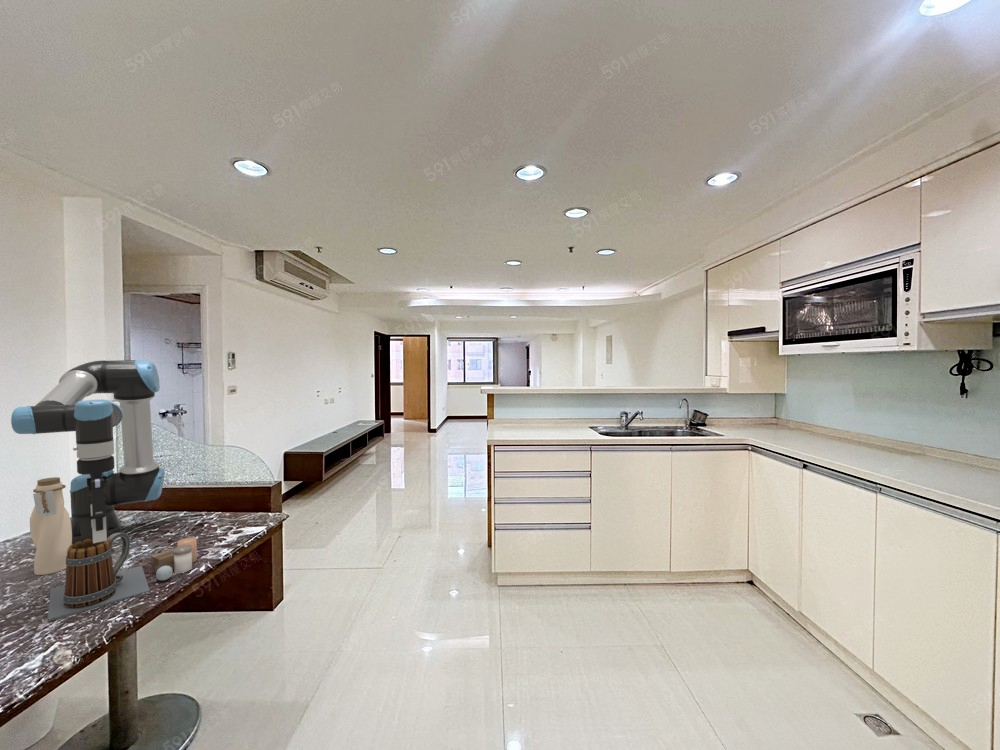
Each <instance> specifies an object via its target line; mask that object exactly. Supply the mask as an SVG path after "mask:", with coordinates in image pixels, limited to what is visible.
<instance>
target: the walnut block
mask: <svg viewBox="0 0 1000 750" xmlns="http://www.w3.org/2000/svg"><path fill="white" fill-rule="evenodd" d="M150 557H151V572H152V573H153V572H154V573H153V574H155V573H156V572H157V570H158V569H159V568H160V567H162V566H170V567H171V568H172V570H174V554H173V550H171V549H169V550H166V551H165V550H164V551H162V552H159V553H156V554H153V555H151V556H150Z"/></svg>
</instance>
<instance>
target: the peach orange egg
mask: <svg viewBox="0 0 1000 750" xmlns="http://www.w3.org/2000/svg"><path fill="white" fill-rule="evenodd" d="M183 545H191V546H192V562H195V561H196V560H197V561H198V550H197V549H198V547H197V545H198V543H197V537H193V536H192V537H185V538H182V539H179V540H177V547H179V546H183ZM197 561H196V562H197ZM196 562H195V563H196Z"/></svg>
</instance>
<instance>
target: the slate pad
mask: <svg viewBox="0 0 1000 750" xmlns="http://www.w3.org/2000/svg"><path fill="white" fill-rule="evenodd" d="M119 574H121V575H123V579H122V580H121V581H120V582H119V583H116V590H115V592H114V594H113V595H112V596H110V597H109V598H107V599H106V600H104V601H101V602H99V603H96V604H93V605H90V606H85V607H79V608H71V607H67V606H65V605H64V601H63V598H64V592H65V585H64V584H63V585H61V586H57V587H52V588H50V590H49V591H50V592H49V601H48V603H49V604H48V610H47V611H48V612H47V622H48V623H49V622H52V621H54V620H58V619H63V618H65V617H70V616H73V615H76V614H80V613H83V612H86V611H90V610H93V609H97V608H100V607H104V605H105V606H107V604H108V605H111V604H114V602H115V603H118V602H121V600H122V601H124V600H123V599H125V600H127V598H129V599H131V598H130V597H132V596H135V595H139V594H143V593H146V592H150V593H151V590H150V587H149V584H148V581H147V578H146V574H145V571H144V568H143V565H139V566H136V567H131V568H127V569H124V570H123V569H122V570H119V571H118V573H117V575H119ZM146 594H147V593H146ZM143 595H144V594H143ZM139 596H140V595H139ZM132 598H133V597H132ZM117 601H118V602H117Z"/></svg>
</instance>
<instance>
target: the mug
mask: <svg viewBox="0 0 1000 750" xmlns="http://www.w3.org/2000/svg"><path fill="white" fill-rule="evenodd" d="M118 538H120V539H121V543H122V548H121V553H120V555H119V557H118V559H117V561H116V562H115V563H114V565H113V558H112V555H113V554H114V553H115V552H116V549H114V547H113V544H114V541H115V540H116V539H118ZM130 548H131V540H130V537H129V535H128V534H126V533H123V532H120V533H115V534H112V535H111V536H109V537H108V538H107V541H102V542H98V543H93V539H92V540H91V539H86V540H83V542H81V541H79V542H76V543H75V544H72V545H70V546H69V548H68V550H67V556H66V569H65V592H64V598H63V601H64V605H65V606H67V607H71V608H79V607H85V606H90V605H93V604H96V603H99V602H101V601H104V600H106V599H107V598H109V597H110V596H112V595H113V594H114V592H115V590H116V583H119V582H120V581H121V580H122V579H123V575H121V574H119V575H117V573H118V572H119V571H120V569H121V568H122V566H123V565H124V564H125V562H126V560H127V558H128V556H129V553H130V550H131V549H130Z"/></svg>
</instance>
